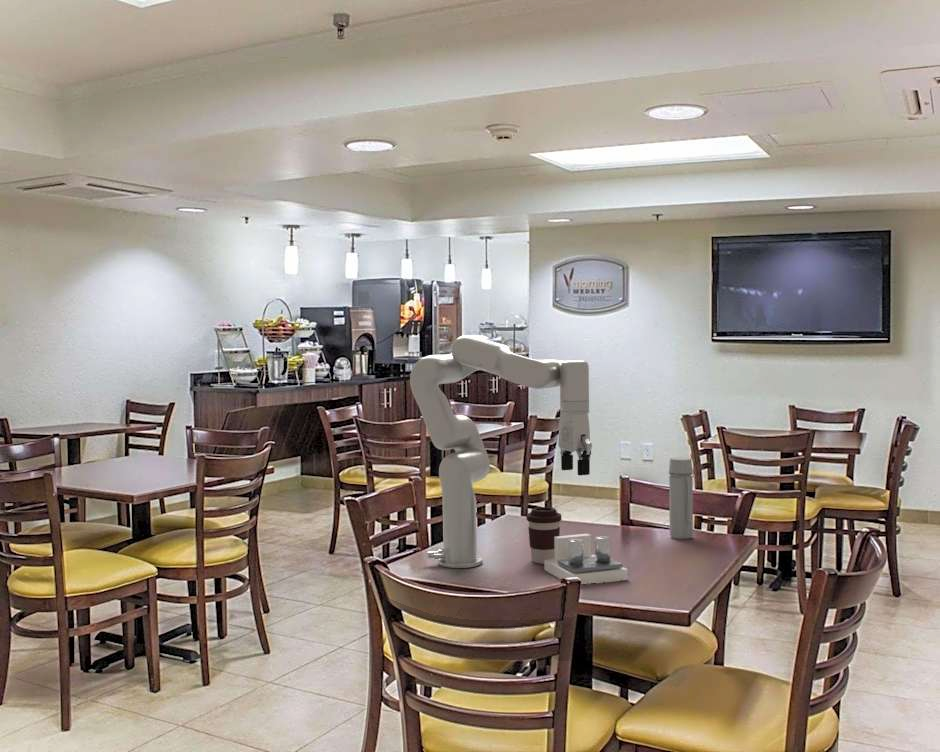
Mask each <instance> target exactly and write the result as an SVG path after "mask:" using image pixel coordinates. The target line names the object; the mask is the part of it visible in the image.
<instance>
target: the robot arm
mask: <svg viewBox="0 0 940 752" xmlns="http://www.w3.org/2000/svg"><path fill="white" fill-rule="evenodd" d="M589 366H590V365H589V363H588V361H586V360H581V359H580V360H579V359H575V360H574V359H573V360H560V359H553V358H552V359H551V358H550V359H549V358H548V359H547V358H546V359H534V358H530V357H525V356H523V355H519V354H516V353H513V352H512V350H511V348H510V347H509V346H508V345H506V344H502V343H499V342H494V341H492V340H491V339H490V338H489V337H488V336H485V335H482V334H464V335H461V336H459V337H457V338H456V339H455V340H454V341H453V342H452V344H451V347H450V353H448V354H429V355H426V356H423V357H422V358H420V359H418V361H416V362H415V364H414V365H413V367H412V369H411V372H410V377H409V386H410V389H411V392H412V395H413V397H414V399H415V402H416V404H417V406H418V408H419V411H420V413H421V417H422V419H423V422H424V424H425V427H426V430H427V432H428V434H429V437H430V440H431V442H432V444H433V446H434V447H435V448H437V450H441V451H449V450H453V449H454V451H455V452H452V453H450V454H447V455H446V456H445V457H444V458H442V460H441V462H440V464H439V468H438V477H439V478H438V479H439V482H440V487H441V488H440V489H441V497H442V538H443V539H442V540H443V542H442V544H443V545H442V546H440V547H439V548H440V549H437V551H436V550H432V551H426V558H427V559H429V560H430V559H433V560H437V563H438V565H439V566H441V567H443V568H450V569H467V568H474V567H478V566H480V565H482V564H483V558H482V557H481V556H480V555H478V552H477V551H478V550H477V549H478V548H477V545H478V543H477V534H478V533H477V499H476V498H477V497H476V494H475V490H474V488H473V487H474V486H473V484H474V483H476V482H480V481H482V480H484V479H485V478H487V476H488V474H489V473H490V468H491V463H490V462H491V461H490V458H489V455H488V452H487V449H486V447H485V445H484V441H483V439H482V437H481V434H480V432H479V430H478V427H477V425H476V424H475V423H474V421H473V420H472V419H471V418H470V417H469V416H467V415H465V414H454V412H453V410H452V407H451V405H450V402H449V400H448V398H447V396H446V395H445V393H444V392H443V391H442V390H441V389H440V385H444V384H455V383H457V382H459V381H462V380H463V379H466V377H468V376H470V375H472V374H473V373H475V372H477V371H478V370H479V371H483V372H486V373H489V374H493V375H496V376H498V377H500V378H502V379H504V380H506V381H507V382H510V383H513V384H516V385H520V386H523V387H526V388H530V389H534V390H541V389H542V390H543V389H548V388H549V389H550V388H551V389H552V388H557V387H559V398H560V399H559V408H560V410H559V412H560V415H559V420H558V421H559V424H558V439H557V440H558V442H557V443H558V444H557V445H558V447H559V449H560V456H561V457H560V461H561V465H560V466H561V467H560V468H561V471H572V470H573V469H574V455H573V454H572V453H576V454H577V457H578V459H577V460H576V461H577V475H578V476H589V475H590V473H591V472H590V471H591V469H590V468H591V467H590V463H591V462H590V461H591V455H592V448H593V443H592V442H591V434H590V432H591V431H590V420H589V414H590V373H589V372H590V370H589V369H590V368H589Z"/></svg>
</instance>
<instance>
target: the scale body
mask: <svg viewBox="0 0 940 752" xmlns="http://www.w3.org/2000/svg"><path fill="white" fill-rule="evenodd" d="M570 539H580V540H583V541H584V555H583V558H584V557H593V556H595V554H592V534H589V533H580V534H566V535H561V536H560V535H559V536H556V537H554V551H555V559H548V560H544V563H545V564H544V571H545V572H547V573H549V574H551V575H553V576H554V577H556V578H558V579H560V580H561V579H562V578H565V577H578V578H580V579H581V580H582V583H583V584H587V583H589V584H587V585H591V584H590V583H596V584H602V583H603V582H605V583H613V582H619V581H621V580H622V581H628V580H629V579H628V578H629V576H628V572H629V569H628V568H626V567H623V566H622V568H614V569H605V570H596V571H587V572H578V573H574V572H572V571H570V570H568V569H566V568H564V567H563V566H561V565H559V564H558V560H565V559H568V540H570ZM603 584H604V583H603Z"/></svg>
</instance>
